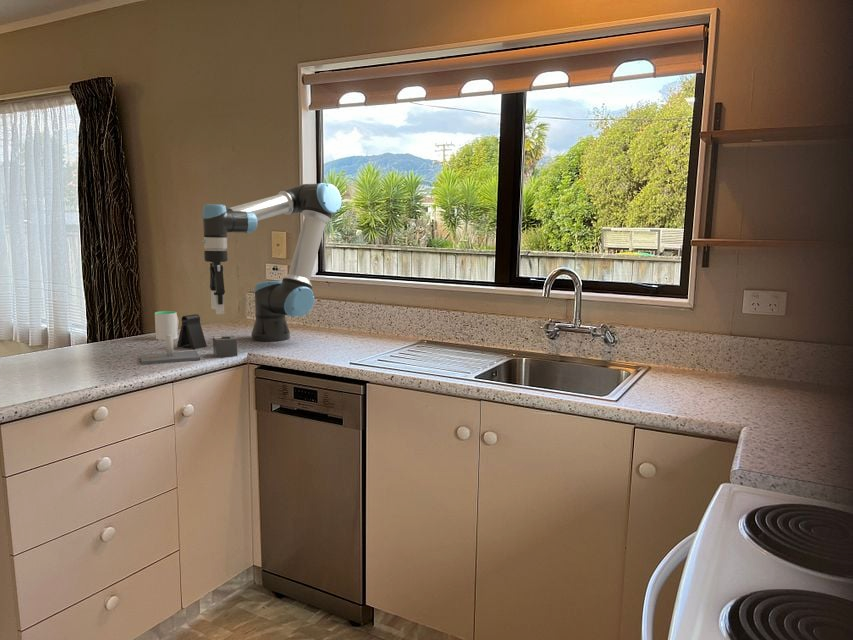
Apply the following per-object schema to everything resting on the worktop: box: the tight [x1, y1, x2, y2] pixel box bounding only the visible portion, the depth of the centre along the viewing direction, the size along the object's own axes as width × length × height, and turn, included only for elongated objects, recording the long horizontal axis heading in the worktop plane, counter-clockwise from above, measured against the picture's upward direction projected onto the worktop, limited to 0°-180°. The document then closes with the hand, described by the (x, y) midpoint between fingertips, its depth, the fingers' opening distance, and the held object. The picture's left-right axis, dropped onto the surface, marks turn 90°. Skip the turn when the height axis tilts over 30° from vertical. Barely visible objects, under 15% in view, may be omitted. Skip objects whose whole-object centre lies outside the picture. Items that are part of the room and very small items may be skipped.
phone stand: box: [176, 313, 208, 351], centre depth 233 cm, size 9×6×12 cm, turn 63°
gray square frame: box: [212, 335, 238, 358], centre depth 220 cm, size 7×7×6 cm
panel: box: [139, 335, 201, 365], centre depth 212 cm, size 18×12×8 cm, turn 116°
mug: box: [154, 310, 180, 341], centre depth 252 cm, size 12×8×10 cm, turn 175°
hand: (217, 311), depth 219 cm, fingers open, 13 cm apart
